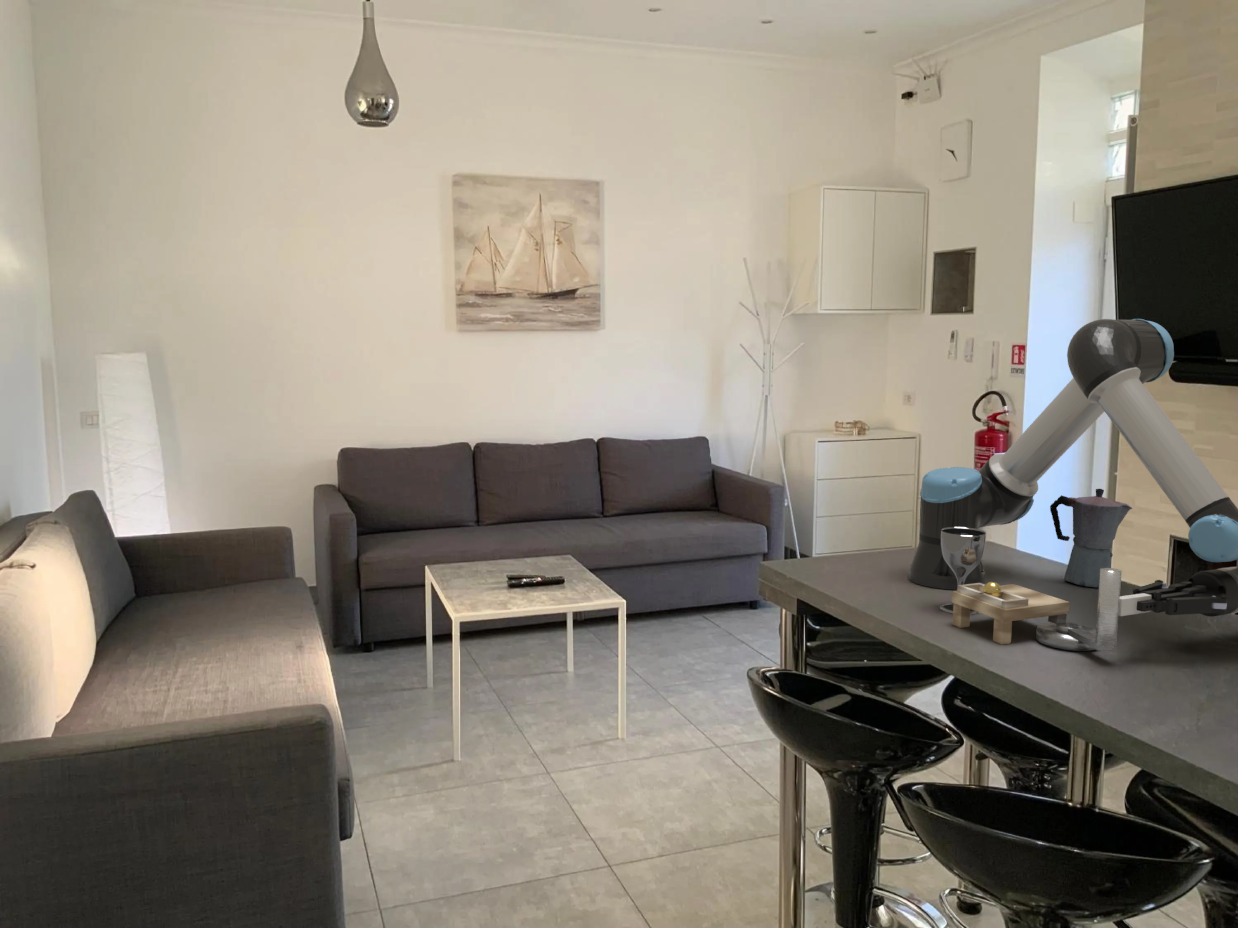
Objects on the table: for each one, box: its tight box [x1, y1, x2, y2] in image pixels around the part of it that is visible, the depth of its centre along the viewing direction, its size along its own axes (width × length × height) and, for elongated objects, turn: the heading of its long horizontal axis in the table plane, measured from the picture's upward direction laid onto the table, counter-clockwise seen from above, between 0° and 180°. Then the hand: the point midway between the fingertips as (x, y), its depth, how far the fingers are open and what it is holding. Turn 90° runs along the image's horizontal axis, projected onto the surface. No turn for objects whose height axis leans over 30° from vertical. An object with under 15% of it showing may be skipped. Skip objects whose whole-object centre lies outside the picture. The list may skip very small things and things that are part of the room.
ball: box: [983, 581, 1001, 598], centre depth 171 cm, size 3×3×3 cm
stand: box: [951, 583, 1071, 645], centre depth 173 cm, size 13×14×7 cm
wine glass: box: [939, 527, 987, 616], centre depth 185 cm, size 8×8×15 cm
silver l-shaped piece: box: [1035, 567, 1122, 652], centre depth 162 cm, size 16×10×15 cm, turn 7°
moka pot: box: [1049, 488, 1133, 589], centre depth 205 cm, size 10×15×20 cm, turn 78°
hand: (1117, 606), depth 156 cm, fingers closed
